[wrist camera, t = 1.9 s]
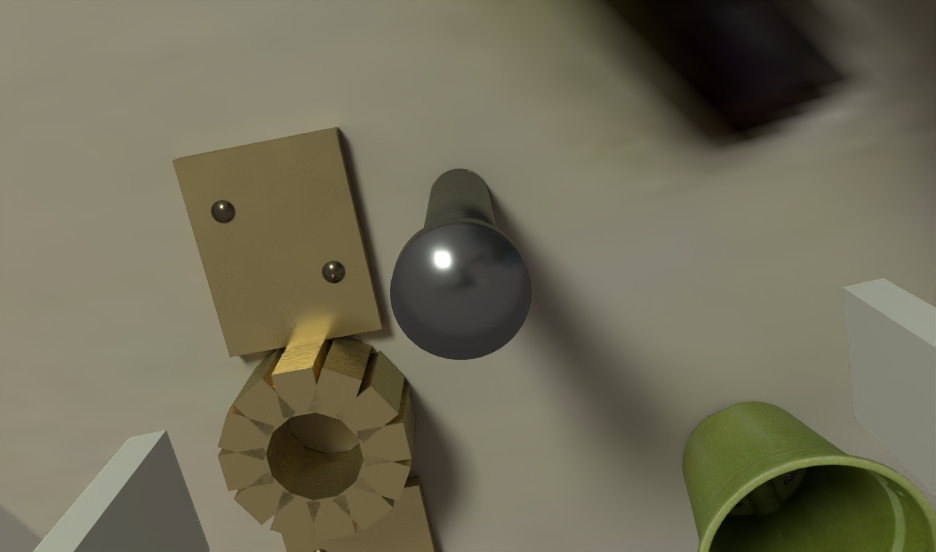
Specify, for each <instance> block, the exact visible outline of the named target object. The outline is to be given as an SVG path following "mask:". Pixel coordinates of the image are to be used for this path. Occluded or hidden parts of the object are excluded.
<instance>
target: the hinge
mask: <svg viewBox="0 0 936 552" xmlns="http://www.w3.org/2000/svg"><path fill="white" fill-rule="evenodd" d="M173 164H174V168H175V171H176V175H177V178H178V181H179V185H180V188H181V192H182V195H183V199H184V202H185V205H186V209H187V212H188V216H189V219H190V222H191V226H192V229H193V233H194V236H195V240H196V243H197V246H198V250H199V253H200V257H201V260H202V263H203V267H204V270H205V274H206V277H207V281H208V284H209V287H210V291H211V294H212V298H213V301H214V304H215V308H216V311H217V315H218V318H219V321H220V325H221V328H222V332H223V335H224V339H225V342H226V345H227V349H228V352H229V356H230V357H234V356H239V355H245V354H250V353H256V352H261V351H266V350H272V349H277V348H278V349H277V350H275V351H274V352H273V353H272V354H271V355H270V356H268V357H267V358H266V359H265V360H264V361H263V362H261V363H260V364H259V365H258V366H257V367H256V368H255V370H254V371H253V373H252V374H251V376H250V377H249V379H248V381H247V382H246V384H245V385H244V387H243V389H242V390H241V392H240V393H239V395H238V396H237V398H236V400H235V401H234V403H233V404H232V406H231V408H230V409H229V411H228V413H227V416H226V420H225V423H224V427H223V430H222V434H221V437H220V440H219V444H218V447H220V448H222V450H221V451H220V453H219V455H218V458H219V461H220V465H221V468H222V471H223V474H224V478H225V481H226V484H227V487H228V491H231V490H236V489H238V491H237V493H236V495H235V497H234V500H235V501H237V502H238V503H239V504H240V505H241V506H242V507H243V508H244V509H245V510H246V511H247V512H248V513H249V514H251V515H252V516H253V517H254V518H255V519H256V520H257V521H258V522H259V523H260V524H261V525H262V524H263V523H265V522H266V521H267V520H268V519H270V518H271V517H272V516H273V515H275V516H274V520H273V523H272V526H271V529H270V530H273V531H277V532H280V533H282V537H283V540H284V543H285V547H286V550H287V552H437V550H436V546H435V541H434V537H433V533H432V529H431V524H430V520H429V516H428V511H427V507H426V503H425V499H424V494H423V490H422V486H421V481H420V477H415V478H410V479H407V477H408V474H409V471H410V469H411V462H412V453H413V444H414V436H415V427H416V425H415V423H416V413H415V409H414V405H413V400H412V396H411V392H410V387H409V384H406V385H403V383H404V377H405V376H404V375H403V374H402V373H401V372H400V371H399V370H398V369H397V368H396V367H395V366H394V365H393V364H392V363H391V362H390V361H389V360H388V358H387V357H386V356H385V355H384V354H383V353H382V352H381V351H379V352H377V353H376V354H375V355H374V356H373V357H371V358H370V359H369V360H368V358H369V354H370V351H371V347H372V345H368V344H365V343H362V342H359V341H356V340H353V339H350V338H346V337H343V336H348V335H353V334H359V333H364V332H370V331H375V330H380V329H382V328H383V324H384V322H383V318H382V314H381V309H380V305H379V301H378V297H377V292H376V288H375V284H374V279H373V275H372V271H371V267H370V262H369V258H368V254H367V249H366V245H365V241H364V236H363V232H362V228H361V224H360V219H359V215H358V211H357V206H356V202H355V198H354V193H353V189H352V185H351V181H350V176H349V172H348V168H347V163H346V159H345V155H344V151H343V146H342V142H341V138H340V133H339V129H338V127H335V128H330V129H325V130H320V131H315V132H310V133H305V134H300V135H294V136H289V137H284V138H279V139H274V140H269V141H264V142H259V143H253V144H248V145H243V146H238V147H233V148H228V149H223V150H218V151H212V152H207V153H202V154H197V155H192V156H187V157H182V158H178V159H175V160H173ZM332 338H335V339H334V341H333V344H332V346H331V347H330V343H329V339H332ZM286 347H287V348H286ZM311 413H319V414H322V415H325V416H329V417H332V418H335V419H338V420H341V421H342V422H343V423H344V424H345V425H346V426H347V427H348V428H349V429H350V430H351V431H352V432H353V433H354V434H355V435H356V436H357V437H358V439H359V444H358V445H357V446H356V447H354V448H353V449H352V450H351V451H346V452H341V453H335V454H330V455H327V454H324V453H321V452H318V451H314V450H311V449H308V448H306V447H305V446H304V445H303V444H302V443H301V442H300V441H299V440H298V439H297V438H296V437H295V436H294V435H293V434H292V433H291V431H290V428H289V424H288V421H287V420H288V419H289V418H290V417H294V416H300V415H305V414H311Z"/></svg>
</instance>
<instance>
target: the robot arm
mask: <svg viewBox="0 0 936 552" xmlns="http://www.w3.org/2000/svg"><path fill="white" fill-rule="evenodd" d="M842 289H843V299H844V309H845V320H846V330H847V340H848V350H849V360H850V371H851V381H852V391H853V401H854V411H855V419H856V420H857V421H858V422H859V423H860V424H861V425H862V426H863V427H864V428H865V429H866V430H867V431H868V432H869V433H870V434H871V435H872V436H873V437H874V438H875V439H876V440H877V441H879V442H880V443H881V444H882V445H883V446H884V447H885V448H886V449H887V450H888V451H889V452H890V453H891V454H892V455H893V456H894V457H895V458H896V459H897V460H898V461H899V462H900V463H901V464H902V465H903V466H905V467H906V468H907V469H908V470H909V471H910V472H911V473H912V474H913V475H914V476H915V477H916V478H917V479H918V480H919V481H920V482H921V483H922V484H923V485H924V486H925V487H926V488H927V489H928V490H929V491H930V492H932V493H933V494H934V495H935V496H936V307H934V306H932V305H930V304H928V303H927V302H925V301H923V300H921V299H920V298H918V297H916V296H914V295H913V294H911V293H909V292H907V291H905V290H904V289H902V288H900V287H898V286H897V285H895V284H893V283H891V282H889V281H888V280H886V279H884V278H883V279H878V280H874V281H869V282H864V283H859V284H855V285H850V286H845V287H842ZM209 550H210V549H209V546H208V543H207V540H206V538H205V535H204V532H203V529H202V527H201V524H200V521H199V518H198V516H197V513H196V510H195V507H194V505H193V502H192V499H191V497H190V494H189V491H188V488H187V486H186V483H185V480H184V477H183V475H182V472H181V469H180V466H179V464H178V461H177V458H176V455H175V453H174V450H173V447H172V445H171V442H170V439H169V436H168V434H167V431H166V430H164V431H159V432H154V433H150V434H145V435H140V436H135V437H131V438H128V439H127V440H126V442H125V443H124V444H123V445H122V446H121V448H120V449H119V450H118V451H117V452H116V454H115V455H114V456H113V457H112V458H111V459H110V461H109V462H108V463H107V464H106V465H105V467H104V468H103V469H102V470H101V471H100V473H99V474H98V475H97V476H96V477H95V478H94V480H93V481H92V482H91V483H90V484H89V486H88V487H87V488H86V489H85V490H84V492H83V493H82V494H81V495H80V496H79V498H78V499H77V500H76V501H75V502H74V503H73V505H72V506H71V507H70V508H69V509H68V511H67V512H66V513H65V514H64V515H63V517H62V518H61V519H60V520H59V521H58V522H57V524H56V525H55V526H54V527H53V528H52V530H51V531H50V532H49V533H48V534H47V536H46V537H45V538H44V539H43V540H42V541H41V543H40V544H39V545H38V546H37V547H36V549H35V550H34V551H33V552H209Z"/></svg>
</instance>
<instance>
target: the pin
mask: <svg viewBox="0 0 936 552" xmlns="http://www.w3.org/2000/svg"><path fill="white" fill-rule="evenodd" d="M390 299H391V306H392V310H393V313H394V316H395V318H396V320H397V322H398V324H399V326H400V328H401V329H402V331H403V332H404V333H405V334H406V336H407V337H408V338H409V339H410V340H411V341H412V342H413V343H415V344H416V345H417V346H419V347H420V348H421V349H423V350H425V351H427V352H429V353H431V354H433V355H436V356H439V357H443V358H447V359H454V360H467V359H475V358H479V357H483V356H485V355H488V354H490V353H492V352H494V351H496V350H498V349H500V348H501V347H503V346H504V345H505V344H507V343H508V342H509V341H510V340H511V339H512V338H513V337H514V336H515V335H516V333H517V332H518V331H519V329H520V328H521V326H522V325H523V323H524V321H525V319H526V317H527V314H528V311H529V307H530V301H531V284H530V278H529V274H528V271H527V267H526V264H525V261H524V259H523V256H522V254H521V252H520V251H519V249H518V247H517V246H516V245H515V243H514V242H513V241H512V240H511V239H510V238H509V237H508V236H507V235H506V234H505V233H504V232H503V231H501V230H500V229H499V228H497V227H496V224H495V219H494V214H493V209H492V205H491V200H490V195H489V191H488V188H487V185H486V183H485V182H484V180H483V179H482V178H481V177H480V176H479V175H477V174H476V173H474V172H472V171H470V170H467V169H453V170H450V171H447V172H445V173H443V174H442V175H441V176H440V177H439V178H438V179H437V180H436V181H435V183H434V184H433V186H432V189H431V193H430V198H429V203H428V209H427V214H426V219H425V225H424V228H423V229H421V230H420V231H419V232H417V233H416V234H415V235H414V236H413V237H412V238H411V239H410V240H409V241H408V242H407V243H406V245H405V246H404V247H403V249H402V251H401V253H400V254H399V257H398V259H397V262H396V265H395V268H394V272H393V276H392V280H391V287H390Z"/></svg>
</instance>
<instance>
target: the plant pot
mask: <svg viewBox="0 0 936 552" xmlns="http://www.w3.org/2000/svg"><path fill="white" fill-rule="evenodd" d="M793 470H796V472H795V475H794V476H793V478H792V479H791V481H790V482H788V483H787V484H784V483H783V479H784V478H785V477H786V475H787V473H788V472H790V471H793ZM683 474H684V479H685V483H686V487H687V491H688V495H689V499H690V502H691V506H692V511H693V515H694V519H695V523H696V527H697V532H698V536H699V547H698V552H936V514H935V512H934V510H933V508H932V506H931V504H930V503H929V501H928V500H927V498H926V497H925V496H924V495H923V494H922V492H921V491H920V490H919V489H918V488H917V487H916V486H915V485H914V484H913V483H911V482H910V481H909V480H908V479H907V478H905V477H904V476H902V475H901V474H899V473H898V472H896V471H895V470H893V469H891V468H889V467H887V466H885V465H883V464H881V463H878V462H875V461H872V460H869V459H866V458H862V457H857V456H852V455H848V454H845V453H844V452H842V451H841V450H840V449H838V448H837V447H835V446H834V445H833V444H831V443H830V442H828V441H827V440H826V439H824V438H823V437H822V436H820V435H819V434H817V433H816V432H815V431H813V430H812V429H810V428H809V427H808V426H806V425H805V424H803V423H802V422H801V421H799V420H798V419H796V418H795V417H794V416H792V415H791V414H789V413H788V412H786V411H785V410H783V409H781V408H779V407H777V406H774V405H771V404H767V403H762V402H742V403H737V404H735V405H733V406H731V407H729V408H727V409H725V410H723V411H720V412H718V413H716V414H714V415H711V416H709V417H707V418H706V419H704V420H703V421H702V422H701V423H700V424H699V425H698V426H697V427H696V429H695V430H694V431H693V433H692V434H691V436H690V438H689V440H688V442H687V444H686V447H685V450H684V455H683ZM738 502H742V503H743V504H742V505H740V506H738V507H736V506H735V505H736V504H737V503H738Z"/></svg>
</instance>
